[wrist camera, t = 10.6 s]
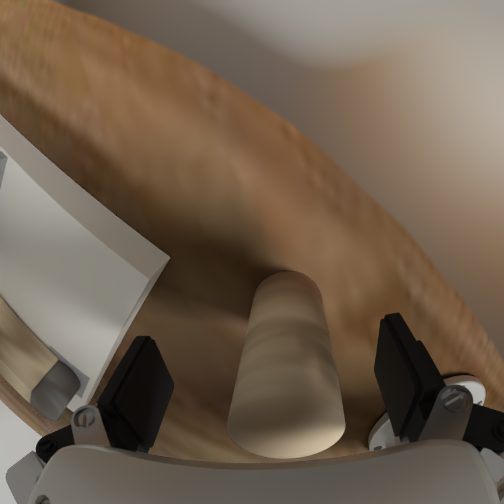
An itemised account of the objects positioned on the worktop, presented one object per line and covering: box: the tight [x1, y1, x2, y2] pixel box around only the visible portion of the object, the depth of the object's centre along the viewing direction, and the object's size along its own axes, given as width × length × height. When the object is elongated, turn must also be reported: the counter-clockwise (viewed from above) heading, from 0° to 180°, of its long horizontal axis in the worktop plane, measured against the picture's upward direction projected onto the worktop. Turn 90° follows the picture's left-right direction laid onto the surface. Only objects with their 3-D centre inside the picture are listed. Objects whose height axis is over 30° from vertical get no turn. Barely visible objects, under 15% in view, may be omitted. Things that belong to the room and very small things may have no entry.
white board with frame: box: [0, 114, 171, 412], centre depth 16 cm, size 21×20×6 cm
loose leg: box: [226, 271, 345, 458], centre depth 12 cm, size 4×4×9 cm
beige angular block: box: [0, 296, 81, 421], centre depth 15 cm, size 12×3×4 cm, turn 50°
